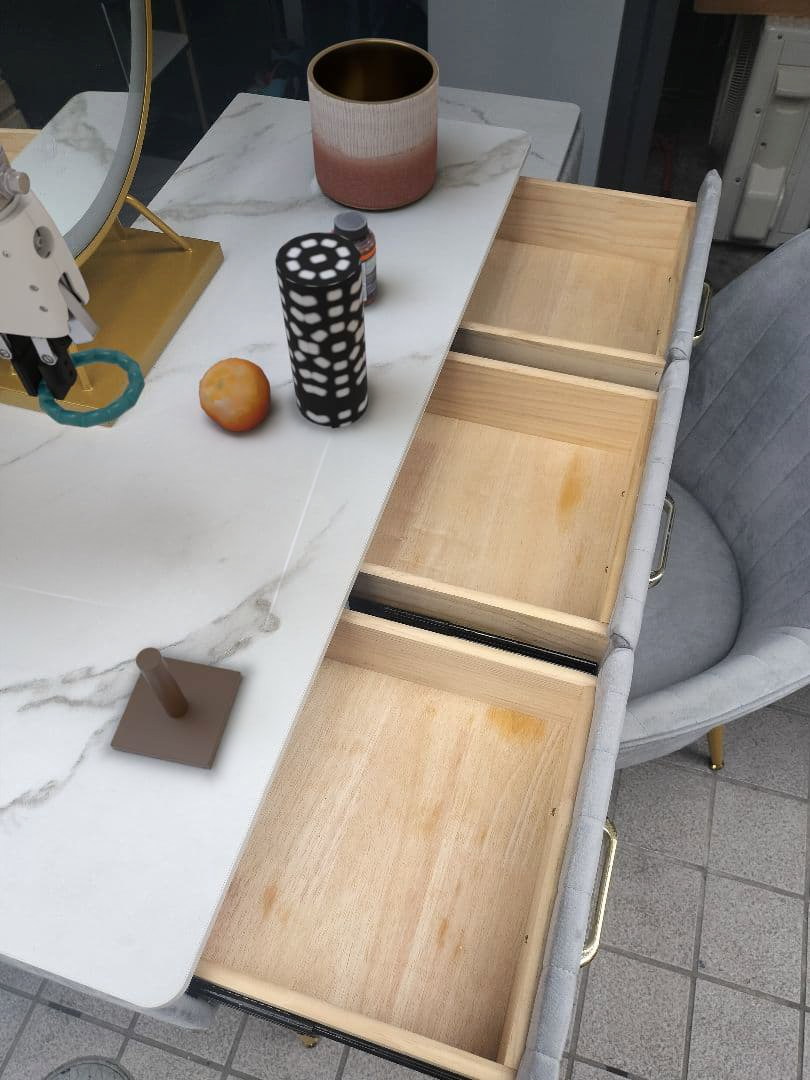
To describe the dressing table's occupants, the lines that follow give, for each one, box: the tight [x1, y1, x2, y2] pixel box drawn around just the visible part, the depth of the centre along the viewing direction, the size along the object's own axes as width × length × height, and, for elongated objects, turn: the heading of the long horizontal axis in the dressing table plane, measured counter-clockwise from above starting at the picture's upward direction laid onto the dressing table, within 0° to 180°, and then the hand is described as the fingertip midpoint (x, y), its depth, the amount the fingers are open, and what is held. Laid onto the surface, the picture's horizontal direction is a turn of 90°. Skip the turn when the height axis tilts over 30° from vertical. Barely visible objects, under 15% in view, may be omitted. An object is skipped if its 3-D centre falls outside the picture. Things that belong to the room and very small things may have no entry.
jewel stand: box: [110, 647, 243, 770], centre depth 69 cm, size 9×9×11 cm
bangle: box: [37, 347, 146, 429], centre depth 67 cm, size 8×8×1 cm
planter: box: [306, 37, 440, 211], centre depth 114 cm, size 18×18×16 cm
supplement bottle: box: [329, 209, 378, 308], centre depth 102 cm, size 6×6×11 cm
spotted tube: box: [274, 231, 369, 429], centre depth 87 cm, size 8×8×20 cm
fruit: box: [198, 357, 271, 432], centre depth 92 cm, size 8×8×8 cm
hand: (53, 385), depth 68 cm, fingers closed on bangle, 1 cm apart
